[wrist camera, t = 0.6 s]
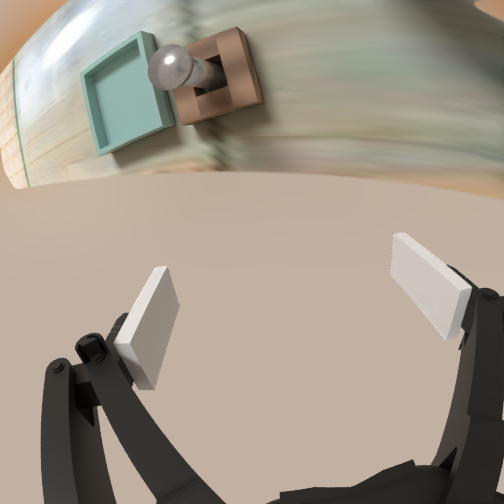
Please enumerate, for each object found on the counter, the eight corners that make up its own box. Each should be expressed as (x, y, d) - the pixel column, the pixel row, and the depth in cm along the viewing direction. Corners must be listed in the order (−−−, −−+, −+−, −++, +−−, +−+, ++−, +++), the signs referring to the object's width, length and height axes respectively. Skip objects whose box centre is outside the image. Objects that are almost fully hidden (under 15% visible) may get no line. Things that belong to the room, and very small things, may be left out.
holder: (175, 59, 37) (164, 56, 34) (243, 32, 32) (236, 26, 30) (191, 124, 41) (181, 125, 38) (263, 102, 36) (257, 101, 34)
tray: (92, 73, 41) (80, 73, 38) (153, 34, 35) (140, 30, 32) (110, 153, 48) (98, 156, 45) (175, 124, 42) (162, 125, 39)
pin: (196, 68, 37) (143, 56, 26) (229, 56, 34) (183, 36, 23) (204, 99, 39) (153, 97, 28) (238, 88, 37) (194, 78, 25)
